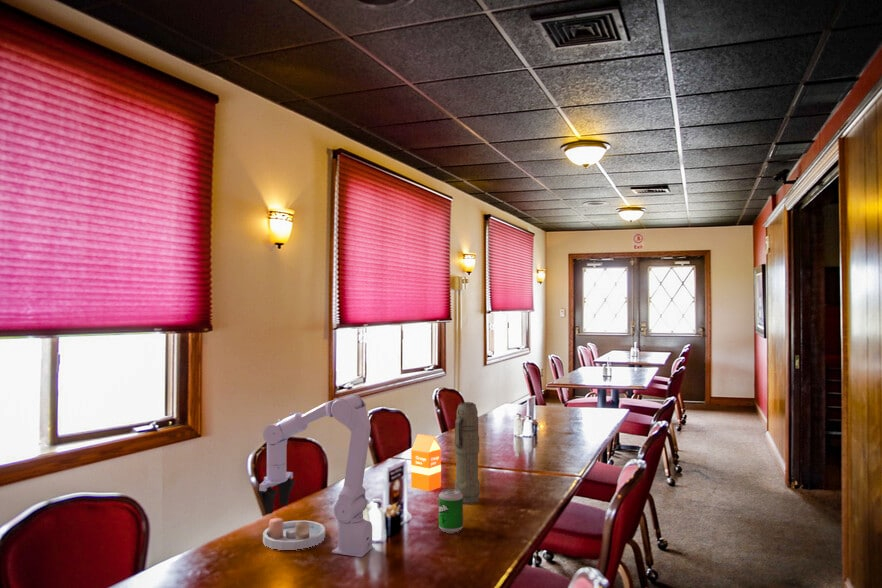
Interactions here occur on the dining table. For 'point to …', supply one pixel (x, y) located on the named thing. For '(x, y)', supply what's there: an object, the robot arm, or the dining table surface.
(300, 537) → the maple bead
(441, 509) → the soda can
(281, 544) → the groove tray
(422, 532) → the dining table surface
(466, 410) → the thermos
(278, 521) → the ball
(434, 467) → the orange juice
